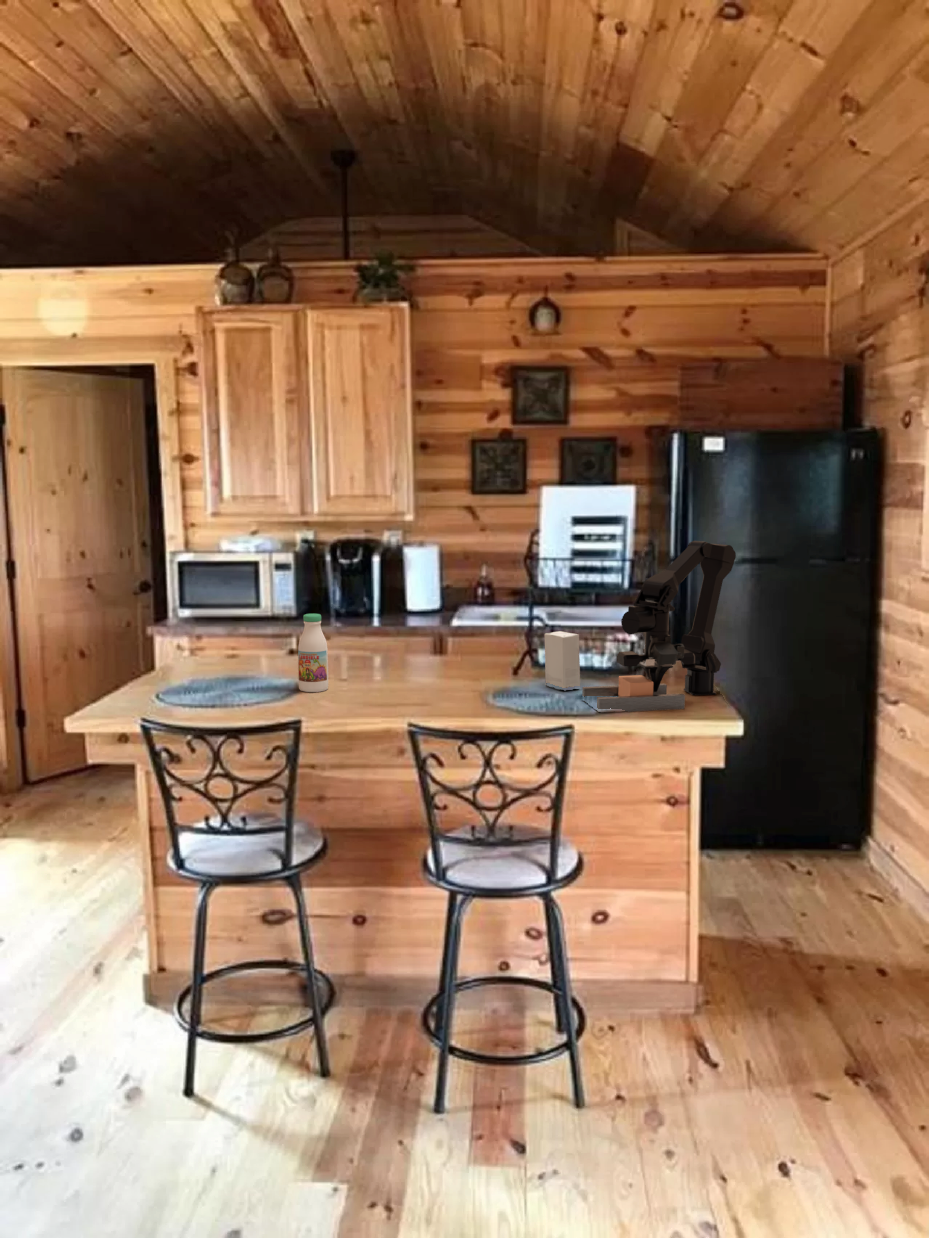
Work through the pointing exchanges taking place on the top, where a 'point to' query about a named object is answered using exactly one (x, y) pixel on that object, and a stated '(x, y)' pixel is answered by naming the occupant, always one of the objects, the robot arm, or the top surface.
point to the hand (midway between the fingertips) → (654, 691)
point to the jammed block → (635, 686)
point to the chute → (635, 699)
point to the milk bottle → (313, 656)
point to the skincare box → (562, 659)
